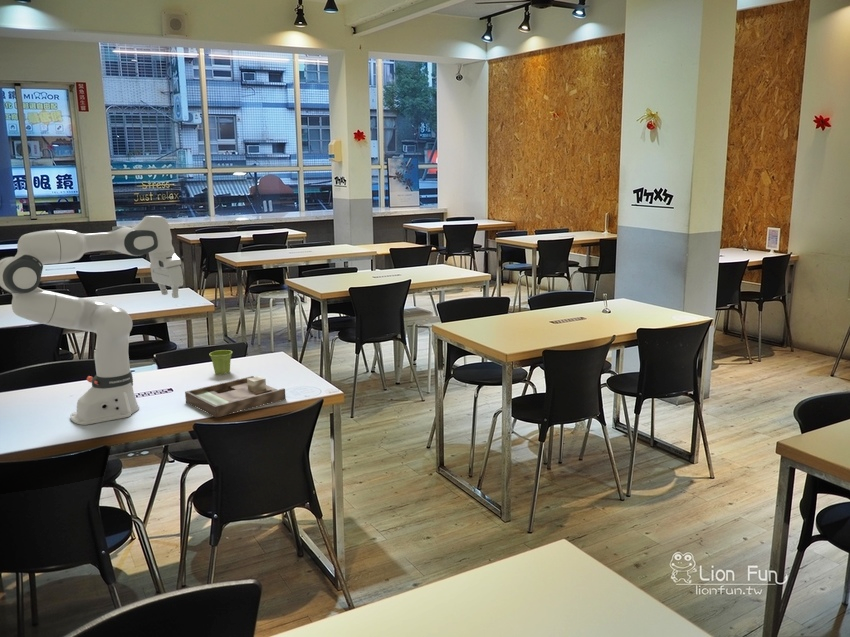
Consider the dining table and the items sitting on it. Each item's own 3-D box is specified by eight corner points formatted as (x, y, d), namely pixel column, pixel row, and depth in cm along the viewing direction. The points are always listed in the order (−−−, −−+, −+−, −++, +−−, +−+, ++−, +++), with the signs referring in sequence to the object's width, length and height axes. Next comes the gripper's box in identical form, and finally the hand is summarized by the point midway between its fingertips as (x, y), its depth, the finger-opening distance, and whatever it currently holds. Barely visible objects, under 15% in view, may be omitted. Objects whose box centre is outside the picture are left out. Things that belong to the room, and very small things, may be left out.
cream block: (254, 391, 272) (253, 381, 271) (247, 388, 275) (247, 378, 275) (266, 388, 275) (265, 378, 274) (259, 386, 279) (258, 376, 278)
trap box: (216, 417, 252) (215, 406, 251) (186, 402, 269) (185, 391, 269) (285, 399, 270) (284, 388, 270) (253, 385, 288) (252, 375, 287)
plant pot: (230, 375, 302) (228, 355, 300) (207, 376, 302) (206, 355, 300) (236, 369, 311) (235, 349, 309) (214, 369, 311) (213, 350, 309)
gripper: (143, 258, 269) (150, 294, 273) (166, 263, 255) (173, 301, 258) (159, 255, 273) (166, 290, 277) (183, 260, 259) (190, 297, 262)
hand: (170, 296), depth 268 cm, fingers open, 8 cm apart
